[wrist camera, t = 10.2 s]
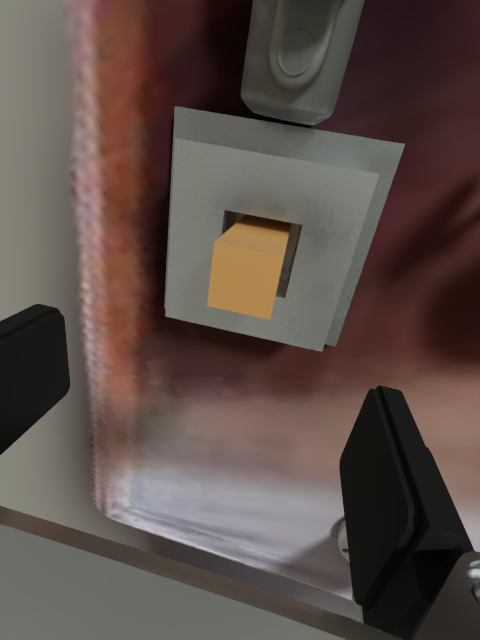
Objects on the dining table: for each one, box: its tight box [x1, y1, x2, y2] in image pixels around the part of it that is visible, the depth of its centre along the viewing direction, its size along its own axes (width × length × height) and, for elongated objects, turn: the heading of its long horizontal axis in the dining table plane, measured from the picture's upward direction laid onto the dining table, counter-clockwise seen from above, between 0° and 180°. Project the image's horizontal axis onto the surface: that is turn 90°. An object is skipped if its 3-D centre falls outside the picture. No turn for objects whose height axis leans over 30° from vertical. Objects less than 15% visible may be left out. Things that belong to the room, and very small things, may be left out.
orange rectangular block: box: [207, 215, 291, 320], centre depth 22 cm, size 4×4×10 cm
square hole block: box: [164, 106, 405, 352], centre depth 24 cm, size 16×16×6 cm
